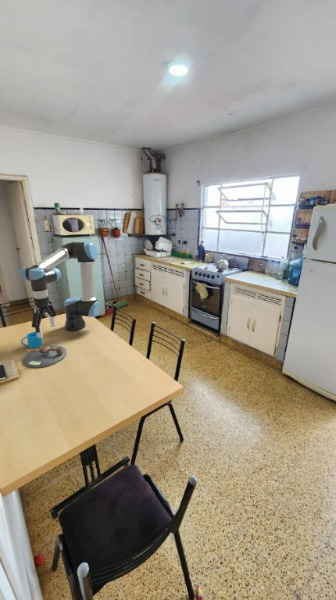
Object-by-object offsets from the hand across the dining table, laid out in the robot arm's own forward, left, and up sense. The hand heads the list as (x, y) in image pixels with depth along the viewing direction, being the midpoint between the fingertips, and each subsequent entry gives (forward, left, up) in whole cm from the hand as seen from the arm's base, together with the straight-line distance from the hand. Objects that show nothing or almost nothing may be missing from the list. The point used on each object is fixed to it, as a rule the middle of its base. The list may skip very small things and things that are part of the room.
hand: (47, 331), depth 145 cm
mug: (+2, -27, -20) cm, 33 cm away
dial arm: (+1, -7, -17) cm, 19 cm away
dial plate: (+1, -7, -19) cm, 21 cm away
